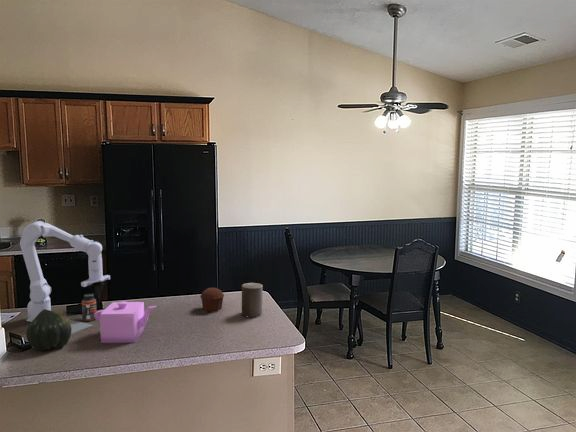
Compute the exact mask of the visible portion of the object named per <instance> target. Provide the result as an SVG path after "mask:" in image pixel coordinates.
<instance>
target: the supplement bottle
mask: <svg viewBox="0 0 576 432" xmlns="http://www.w3.org/2000/svg"><path fill="white" fill-rule="evenodd" d="M97 311H98V310H97V299H94V294H93V293H87V294H86V293H85V294H84V295H83V299H82V300H81V312H82V313H81V315H82V321H83V322H92V321H95V320H96V318H95V317H94V313H95V312H97Z"/></svg>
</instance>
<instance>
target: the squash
mask: <svg viewBox="0 0 576 432" xmlns="http://www.w3.org/2000/svg"><path fill="white" fill-rule="evenodd" d="M69 320H70V319H69ZM69 320H68V318H67V317H66V316H64V315H62V314H60V313H57V312H56V311H52V310H51V311H50V310H46V309H43V310H42V311H41V312H40V313H39V314H38V315H37V316H36V318H35V319H34V320H33V321H32V322H30V323H29V325H28V326H27V328H26V339H27V342H28V343H29V346H31V347H33V348H34V349H35V350H36V351H41V352H42V351H46V350H49V349H51V348H52V347H53V348H54V347H55V348H62V347H65V346H66V345H67V344H68V342H69V340H70V338H71V335H72V334H71V324H70V322H69Z"/></svg>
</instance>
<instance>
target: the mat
mask: <svg viewBox="0 0 576 432" xmlns="http://www.w3.org/2000/svg"><path fill="white" fill-rule="evenodd" d="M67 319H68V318H67ZM68 320H69V322H70V324H71V335H73V334H77V333H79V332H81V331H84V330H86V329H89V328H91V327H94V324H91V323H88V322H84V321H83V322H81V321H79V320H78V321H77V320H73V319H68Z"/></svg>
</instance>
